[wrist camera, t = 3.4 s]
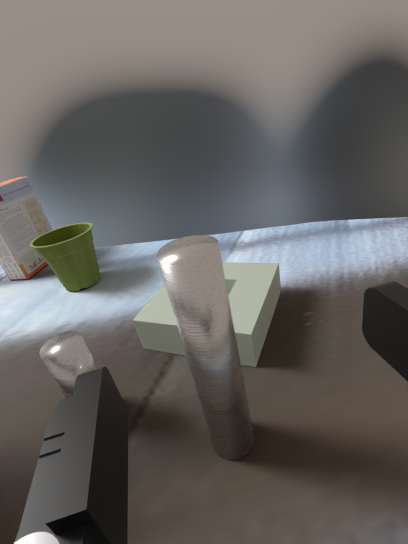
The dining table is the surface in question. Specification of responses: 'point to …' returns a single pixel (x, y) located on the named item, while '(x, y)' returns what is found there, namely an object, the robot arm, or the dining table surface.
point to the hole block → (243, 302)
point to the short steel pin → (67, 359)
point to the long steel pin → (209, 339)
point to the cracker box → (20, 228)
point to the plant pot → (70, 255)
